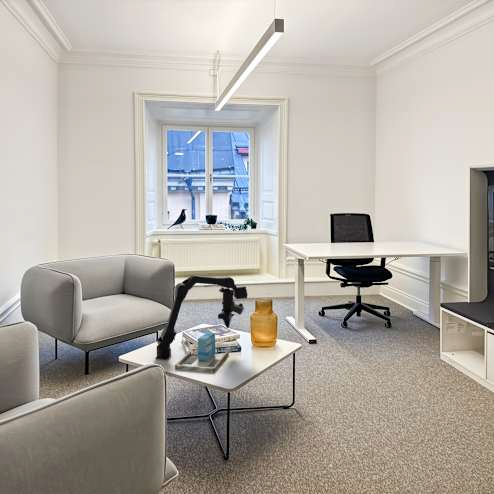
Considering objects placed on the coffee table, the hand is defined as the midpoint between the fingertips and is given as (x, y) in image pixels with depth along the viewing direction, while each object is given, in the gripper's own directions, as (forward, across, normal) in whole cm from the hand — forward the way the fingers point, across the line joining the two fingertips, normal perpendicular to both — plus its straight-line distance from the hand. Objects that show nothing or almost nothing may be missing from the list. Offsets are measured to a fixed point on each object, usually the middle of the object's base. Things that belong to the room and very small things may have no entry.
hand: (227, 327), depth 255 cm
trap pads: (+13, -20, +8) cm, 25 cm away
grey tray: (+13, -19, +8) cm, 24 cm away
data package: (+13, -13, +8) cm, 20 cm away
